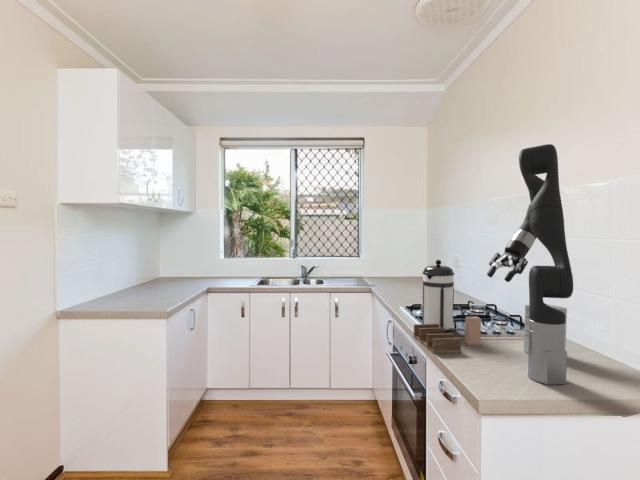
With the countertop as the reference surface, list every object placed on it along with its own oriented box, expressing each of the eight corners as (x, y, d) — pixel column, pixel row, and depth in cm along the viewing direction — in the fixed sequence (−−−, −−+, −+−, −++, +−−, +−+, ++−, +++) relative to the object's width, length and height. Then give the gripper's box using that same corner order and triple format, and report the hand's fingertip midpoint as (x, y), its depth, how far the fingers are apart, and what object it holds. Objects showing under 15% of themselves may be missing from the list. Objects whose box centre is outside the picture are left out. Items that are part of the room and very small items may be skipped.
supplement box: (546, 360, 132) (547, 310, 132) (522, 351, 141) (523, 304, 140) (566, 356, 136) (567, 307, 135) (542, 348, 145) (543, 302, 144)
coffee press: (462, 336, 160) (463, 261, 159) (422, 335, 162) (423, 261, 160) (452, 324, 177) (453, 257, 176) (416, 323, 179) (417, 257, 178)
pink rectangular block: (480, 344, 149) (480, 318, 149) (468, 345, 149) (469, 318, 148) (476, 342, 152) (476, 316, 152) (464, 342, 151) (465, 316, 151)
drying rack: (460, 352, 140) (461, 338, 140) (433, 353, 139) (433, 339, 139) (437, 336, 160) (437, 323, 160) (413, 336, 159) (413, 324, 159)
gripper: (500, 236, 158) (478, 269, 156) (530, 240, 145) (506, 276, 143) (510, 248, 161) (488, 280, 158) (541, 252, 147) (518, 288, 145)
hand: (497, 278), depth 150 cm, fingers open, 8 cm apart
